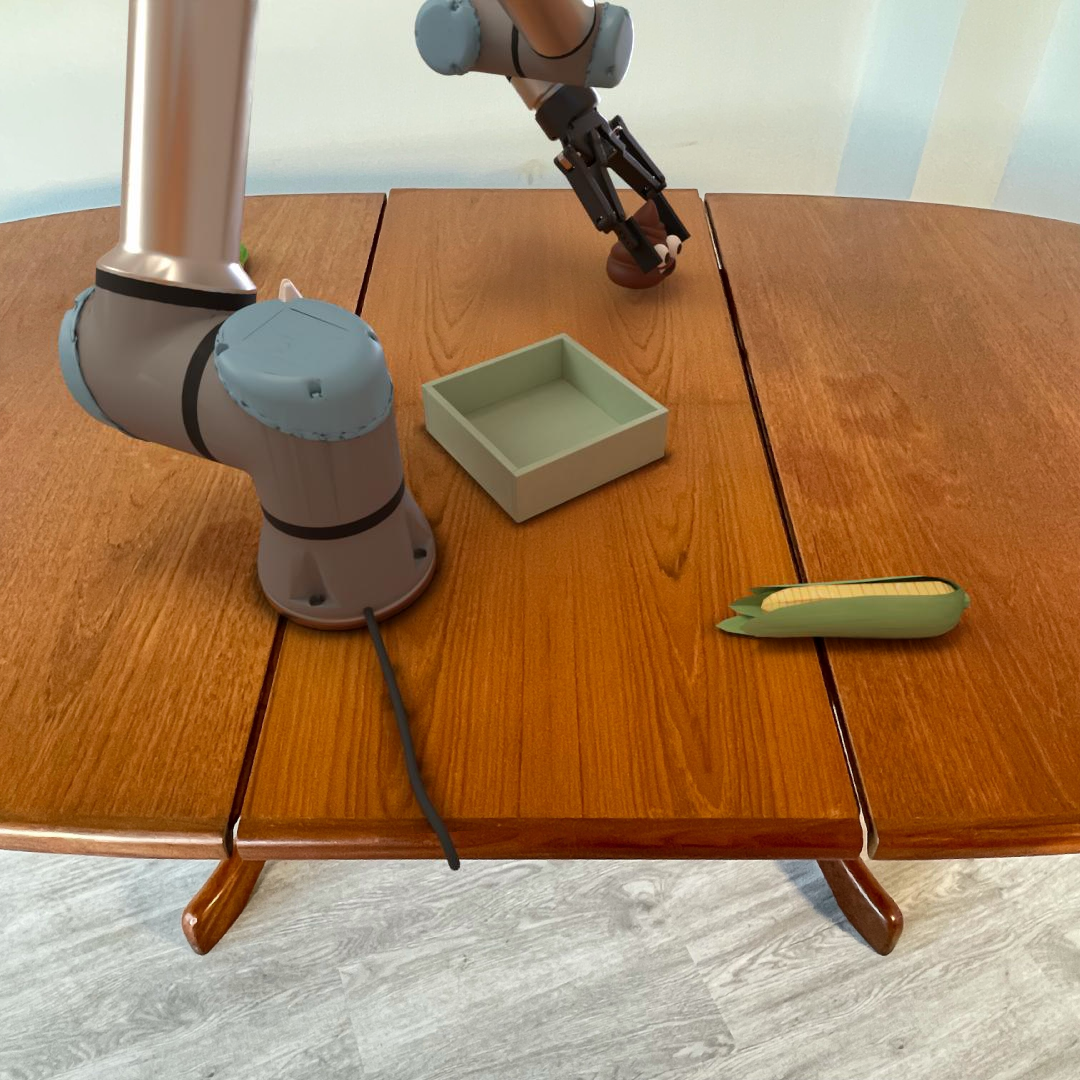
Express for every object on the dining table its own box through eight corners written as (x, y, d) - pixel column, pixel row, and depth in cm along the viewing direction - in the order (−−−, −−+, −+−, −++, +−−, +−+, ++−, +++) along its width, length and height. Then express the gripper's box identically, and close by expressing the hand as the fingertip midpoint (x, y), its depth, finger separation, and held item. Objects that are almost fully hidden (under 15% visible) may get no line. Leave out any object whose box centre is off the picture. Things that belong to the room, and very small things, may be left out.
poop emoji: (633, 252, 117) (638, 181, 111) (689, 269, 114) (698, 197, 107) (592, 280, 111) (595, 208, 105) (650, 299, 108) (658, 225, 101)
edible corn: (968, 646, 70) (987, 608, 67) (720, 654, 70) (728, 617, 67) (944, 599, 74) (962, 561, 71) (709, 606, 74) (716, 568, 71)
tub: (664, 456, 88) (669, 410, 85) (517, 523, 81) (516, 477, 78) (563, 376, 99) (564, 332, 95) (426, 429, 92) (420, 384, 88)
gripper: (578, 90, 113) (680, 239, 118) (492, 139, 100) (610, 303, 105) (617, 50, 107) (723, 209, 112) (531, 96, 95) (654, 273, 100)
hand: (668, 254), depth 109 cm, fingers closed on poop emoji, 7 cm apart
